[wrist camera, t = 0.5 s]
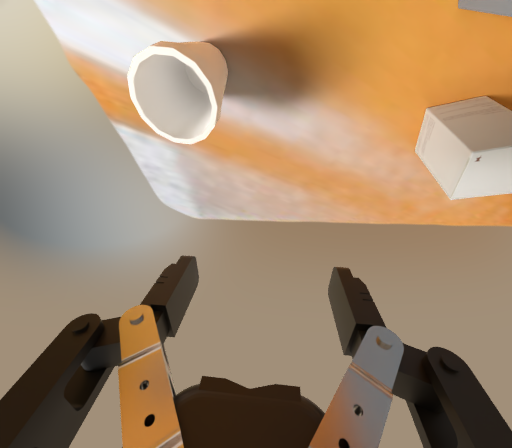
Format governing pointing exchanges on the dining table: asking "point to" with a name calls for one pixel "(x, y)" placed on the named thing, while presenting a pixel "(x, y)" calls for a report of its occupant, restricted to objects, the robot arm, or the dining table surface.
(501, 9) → the coffee dispenser stand
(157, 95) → the foam cup
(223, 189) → the dining table surface
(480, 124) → the supplement box
